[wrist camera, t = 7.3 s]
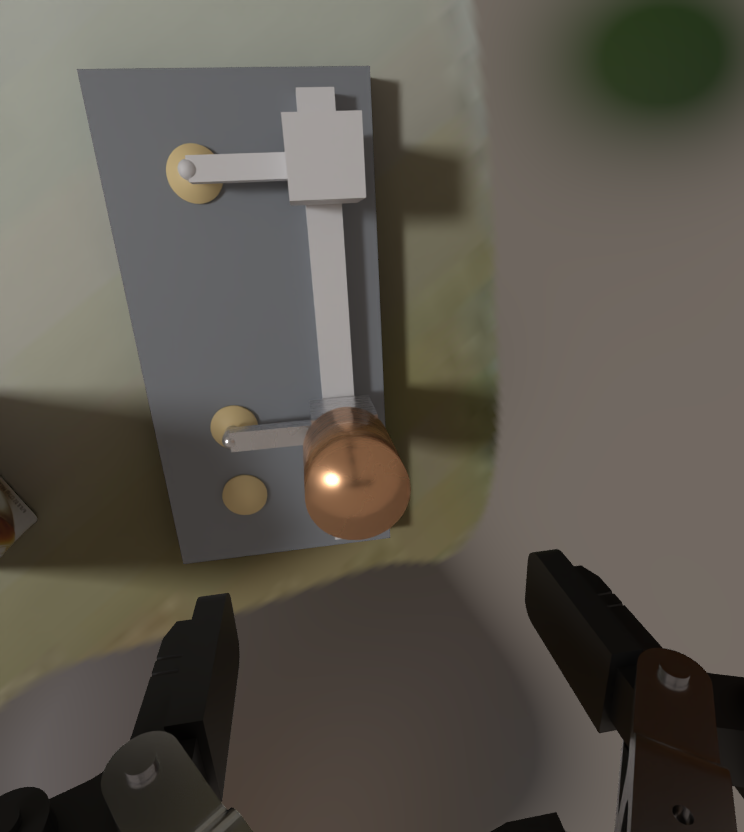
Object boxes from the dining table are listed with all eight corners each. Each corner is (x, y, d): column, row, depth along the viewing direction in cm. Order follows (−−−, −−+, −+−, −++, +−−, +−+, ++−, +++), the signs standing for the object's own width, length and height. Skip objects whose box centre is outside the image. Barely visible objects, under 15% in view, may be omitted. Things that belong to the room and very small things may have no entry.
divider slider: (219, 394, 25) (186, 462, 17) (375, 380, 26) (409, 439, 18) (231, 466, 26) (205, 559, 19) (378, 450, 27) (411, 533, 20)
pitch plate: (91, 80, 21) (27, 30, 16) (365, 76, 23) (385, 29, 18) (188, 548, 30) (166, 613, 25) (385, 524, 31) (403, 580, 26)
